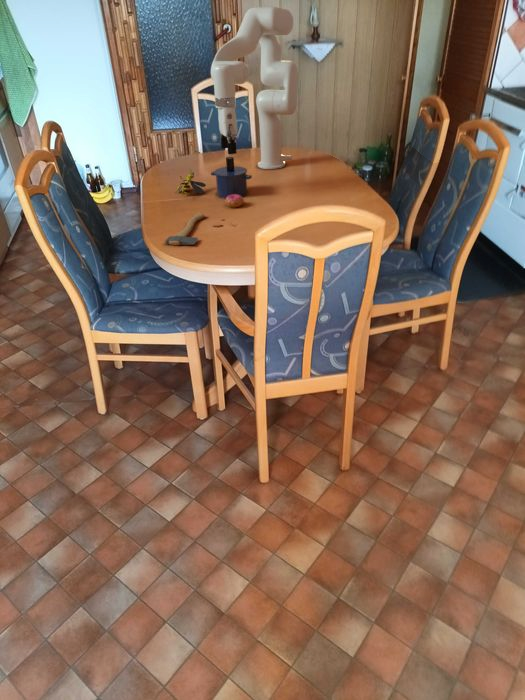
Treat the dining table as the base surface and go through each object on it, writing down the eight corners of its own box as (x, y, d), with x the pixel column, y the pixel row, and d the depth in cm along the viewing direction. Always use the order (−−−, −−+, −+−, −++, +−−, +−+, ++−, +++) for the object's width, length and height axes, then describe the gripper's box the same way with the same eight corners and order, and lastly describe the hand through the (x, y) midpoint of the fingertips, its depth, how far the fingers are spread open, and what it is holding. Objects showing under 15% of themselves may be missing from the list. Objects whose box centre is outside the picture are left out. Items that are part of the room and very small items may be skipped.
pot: (221, 186, 220) (219, 166, 215) (258, 191, 214) (257, 170, 209) (206, 195, 212) (204, 174, 207) (244, 200, 205) (242, 178, 200)
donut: (241, 201, 205) (240, 191, 202) (246, 207, 199) (245, 197, 197) (223, 204, 203) (222, 194, 201) (227, 209, 197) (227, 200, 195)
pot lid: (225, 167, 215) (223, 152, 212) (252, 170, 210) (252, 154, 207) (208, 176, 206) (207, 160, 203) (237, 180, 201) (236, 163, 198)
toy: (162, 181, 205) (180, 167, 216) (166, 202, 210) (184, 187, 221) (189, 184, 201) (206, 169, 212) (192, 204, 207) (209, 189, 217)
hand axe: (193, 242, 170) (164, 240, 172) (194, 247, 170) (165, 245, 173) (217, 212, 191) (191, 211, 193) (218, 217, 192) (191, 216, 194)
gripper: (242, 105, 187) (244, 155, 197) (229, 98, 201) (232, 145, 211) (221, 107, 186) (225, 157, 195) (210, 99, 199) (214, 147, 209)
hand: (228, 150), depth 203 cm, fingers open, 9 cm apart
